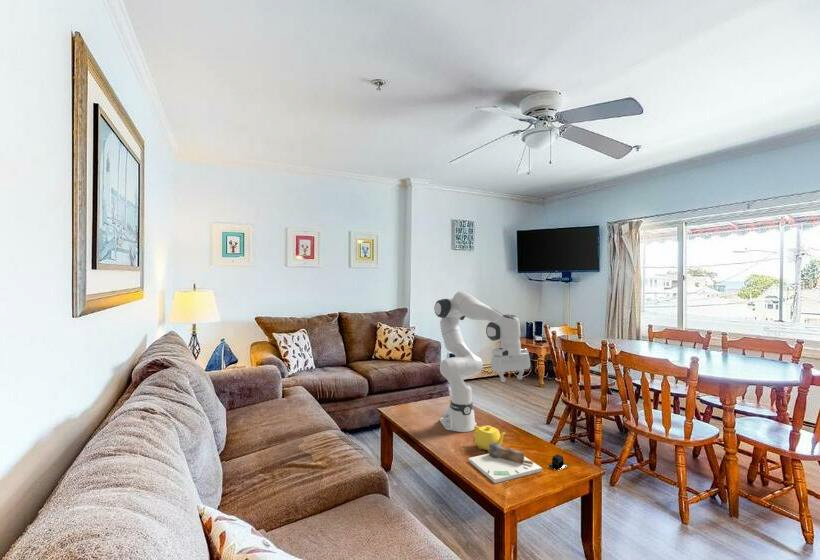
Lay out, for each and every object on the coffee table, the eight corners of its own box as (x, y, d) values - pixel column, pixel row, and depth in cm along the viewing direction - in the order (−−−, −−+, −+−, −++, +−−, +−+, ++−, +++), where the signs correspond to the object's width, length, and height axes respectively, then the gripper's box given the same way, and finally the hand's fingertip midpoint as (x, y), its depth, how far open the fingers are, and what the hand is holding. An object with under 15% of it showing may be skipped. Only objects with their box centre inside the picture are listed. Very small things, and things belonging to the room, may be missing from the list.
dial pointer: (487, 455, 174) (487, 445, 174) (491, 451, 179) (491, 441, 179) (531, 466, 164) (531, 456, 164) (534, 462, 168) (534, 451, 168)
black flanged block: (559, 459, 176) (559, 449, 176) (573, 466, 170) (573, 455, 170) (542, 467, 169) (542, 457, 169) (557, 474, 163) (557, 463, 163)
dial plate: (468, 461, 173) (468, 457, 173) (512, 451, 183) (512, 448, 183) (494, 483, 155) (494, 479, 155) (542, 471, 164) (542, 467, 164)
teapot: (512, 450, 183) (512, 428, 183) (499, 458, 176) (499, 435, 176) (480, 439, 196) (480, 418, 196) (467, 446, 188) (467, 424, 188)
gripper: (523, 347, 185) (524, 376, 185) (488, 351, 176) (489, 381, 176) (533, 349, 179) (533, 379, 179) (497, 353, 171) (498, 384, 170)
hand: (511, 380), depth 177 cm, fingers open, 8 cm apart
